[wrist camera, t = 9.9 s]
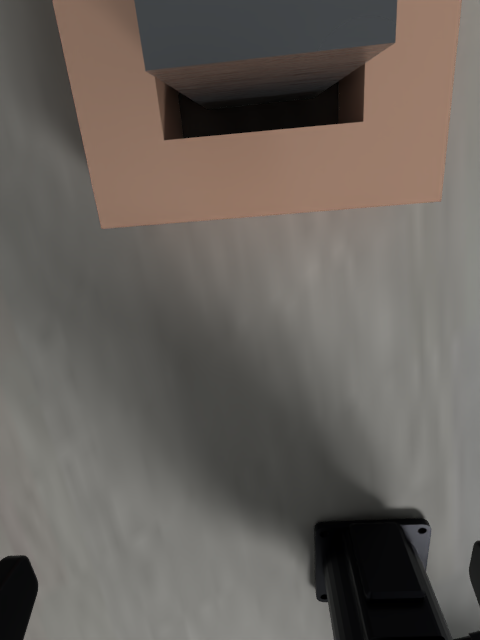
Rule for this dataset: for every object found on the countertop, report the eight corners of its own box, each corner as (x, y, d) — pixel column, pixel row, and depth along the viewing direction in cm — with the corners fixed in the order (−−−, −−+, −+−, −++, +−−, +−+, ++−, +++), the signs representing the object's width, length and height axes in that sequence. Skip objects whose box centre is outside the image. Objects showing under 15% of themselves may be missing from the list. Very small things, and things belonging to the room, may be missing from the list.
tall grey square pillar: (312, 98, 16) (395, 42, 7) (207, 109, 16) (145, 71, 7) (309, -34, 14) (413, -353, 5) (193, -20, 14) (87, -297, 5)
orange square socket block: (400, 187, 17) (440, 201, 13) (133, 209, 18) (101, 228, 14) (424, -194, 13) (495, -332, 9) (68, -145, 13) (-3, -254, 10)
